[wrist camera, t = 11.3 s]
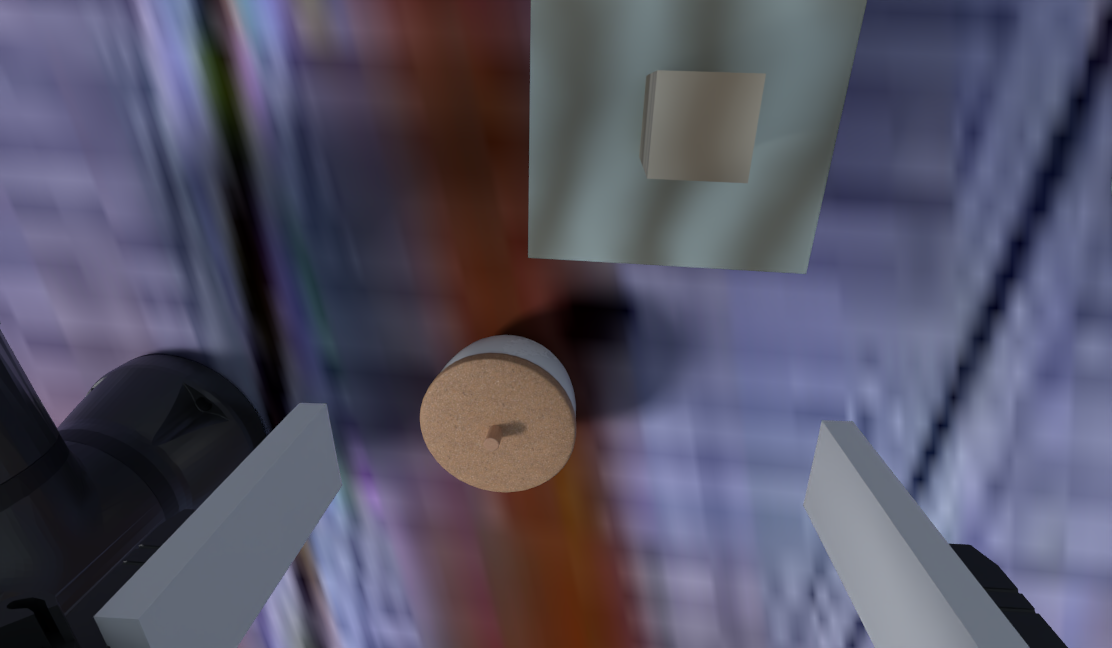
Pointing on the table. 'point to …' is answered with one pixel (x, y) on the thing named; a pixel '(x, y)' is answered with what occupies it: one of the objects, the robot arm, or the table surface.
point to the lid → (685, 128)
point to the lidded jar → (501, 414)
